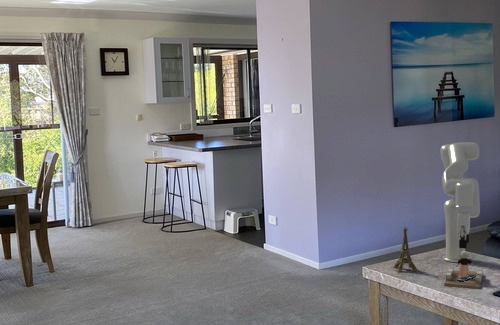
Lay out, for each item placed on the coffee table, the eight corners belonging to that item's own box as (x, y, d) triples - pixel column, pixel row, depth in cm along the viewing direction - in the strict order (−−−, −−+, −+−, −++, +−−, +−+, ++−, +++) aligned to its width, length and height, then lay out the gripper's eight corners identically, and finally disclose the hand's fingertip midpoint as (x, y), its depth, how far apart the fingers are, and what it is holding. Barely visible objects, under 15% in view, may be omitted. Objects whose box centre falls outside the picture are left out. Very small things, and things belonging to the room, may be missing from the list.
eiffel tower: (397, 272, 312) (396, 222, 309) (392, 266, 323) (391, 218, 320) (419, 271, 312) (418, 221, 309) (413, 266, 323) (412, 217, 320)
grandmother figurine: (458, 279, 293) (458, 252, 292) (455, 276, 297) (455, 250, 296) (474, 278, 294) (474, 251, 292) (471, 276, 297) (471, 249, 296)
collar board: (450, 272, 308) (450, 265, 308) (483, 275, 302) (483, 267, 302) (444, 285, 289) (444, 278, 288) (479, 288, 282) (479, 281, 282)
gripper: (457, 204, 301) (457, 240, 304) (453, 212, 286) (453, 249, 288) (474, 205, 298) (474, 241, 300) (470, 213, 283) (470, 251, 285)
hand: (464, 245), depth 294 cm, fingers open, 9 cm apart
